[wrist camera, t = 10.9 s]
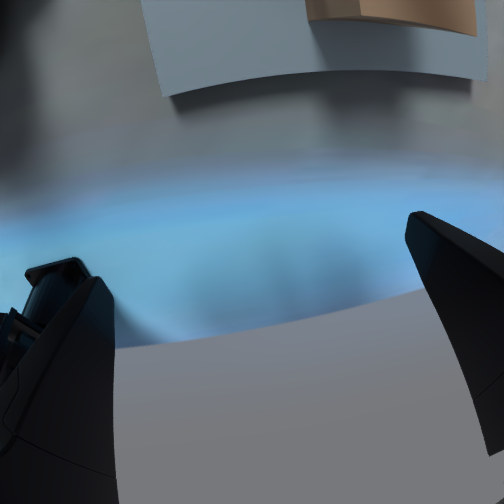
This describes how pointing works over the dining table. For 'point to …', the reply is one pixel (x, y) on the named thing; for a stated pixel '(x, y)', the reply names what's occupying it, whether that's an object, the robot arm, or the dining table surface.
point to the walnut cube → (399, 13)
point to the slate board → (294, 43)
